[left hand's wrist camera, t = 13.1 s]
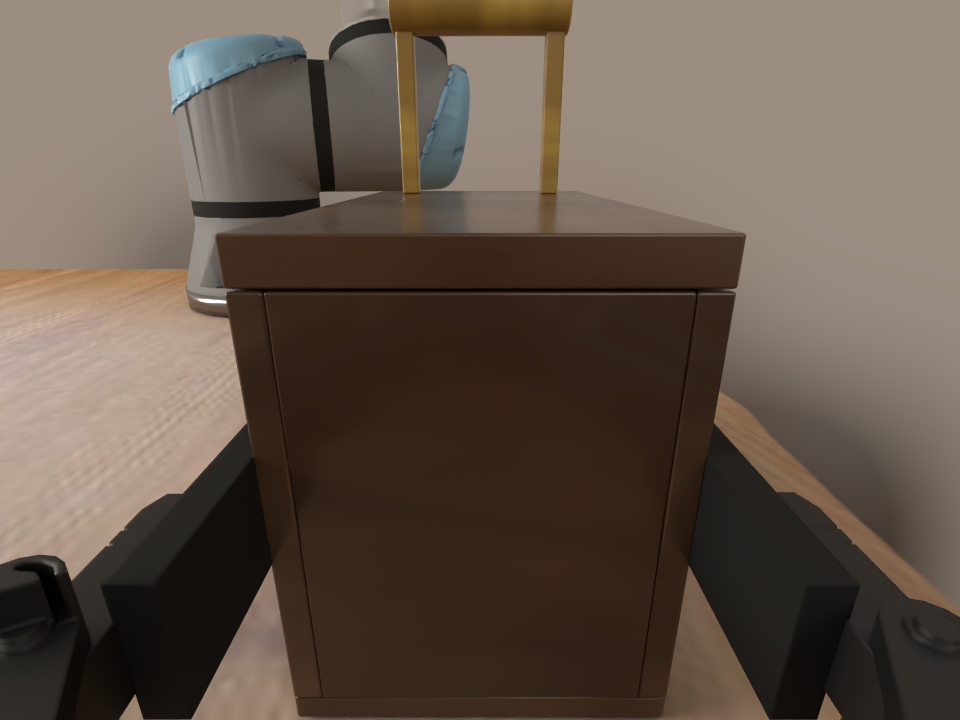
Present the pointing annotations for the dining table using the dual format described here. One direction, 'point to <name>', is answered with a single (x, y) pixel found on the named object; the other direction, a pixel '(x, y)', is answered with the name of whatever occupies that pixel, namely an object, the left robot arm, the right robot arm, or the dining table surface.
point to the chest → (480, 490)
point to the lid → (480, 205)
